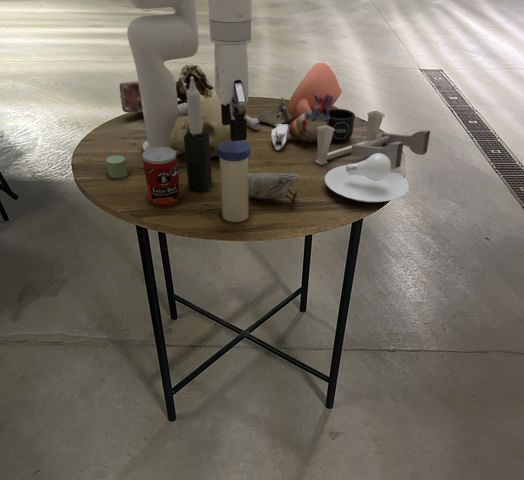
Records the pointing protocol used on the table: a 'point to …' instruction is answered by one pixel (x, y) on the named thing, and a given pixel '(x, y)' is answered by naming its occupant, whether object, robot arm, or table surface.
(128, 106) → the decorative box
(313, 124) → the anatomical model
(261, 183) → the decorative bird
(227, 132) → the skull
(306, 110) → the pink curved piece
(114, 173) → the stand
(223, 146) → the lid
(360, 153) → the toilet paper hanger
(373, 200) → the plate
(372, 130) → the toilet paper hanger
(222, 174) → the jar
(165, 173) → the canned food
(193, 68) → the bear figurine
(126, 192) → the table surface
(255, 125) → the bone
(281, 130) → the bird figurine
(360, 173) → the lightbulb
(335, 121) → the mug
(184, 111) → the light bulb
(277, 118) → the pottery fragment
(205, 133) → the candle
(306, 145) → the accessory
